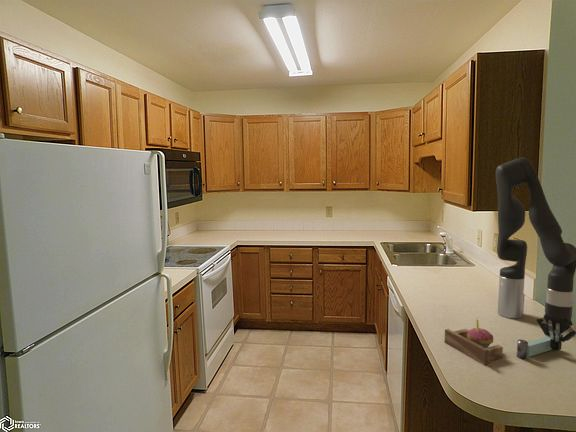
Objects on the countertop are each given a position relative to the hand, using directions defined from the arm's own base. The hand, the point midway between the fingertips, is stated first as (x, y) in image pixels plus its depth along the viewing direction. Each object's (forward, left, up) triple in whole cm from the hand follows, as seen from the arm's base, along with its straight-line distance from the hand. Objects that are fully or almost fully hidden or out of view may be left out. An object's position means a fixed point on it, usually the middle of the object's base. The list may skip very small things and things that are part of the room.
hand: (555, 350), depth 128 cm
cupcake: (+20, -13, -2) cm, 24 cm away
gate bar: (+3, -3, -1) cm, 5 cm away
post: (+12, -3, -2) cm, 13 cm away
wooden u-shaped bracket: (+23, -13, -2) cm, 27 cm away
